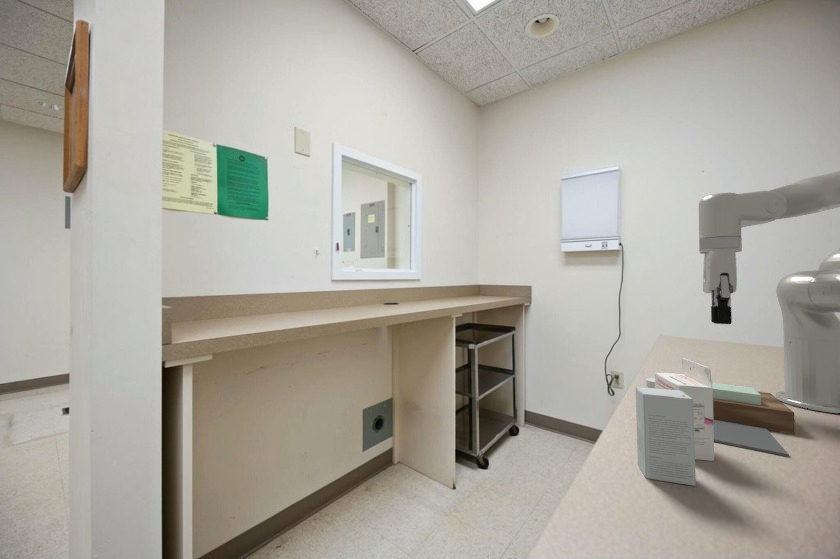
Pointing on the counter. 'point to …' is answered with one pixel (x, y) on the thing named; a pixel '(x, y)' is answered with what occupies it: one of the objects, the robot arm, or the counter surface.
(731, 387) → the mint green block
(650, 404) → the skincare box
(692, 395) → the ink cartridge box
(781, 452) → the mat
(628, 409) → the counter surface
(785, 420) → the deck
